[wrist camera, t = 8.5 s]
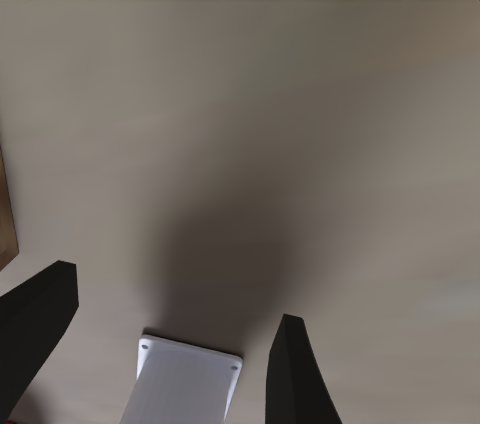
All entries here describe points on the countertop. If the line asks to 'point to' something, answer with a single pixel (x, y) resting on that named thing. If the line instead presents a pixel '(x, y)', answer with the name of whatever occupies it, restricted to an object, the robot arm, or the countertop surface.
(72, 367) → the countertop surface
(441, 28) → the countertop surface
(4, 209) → the holder
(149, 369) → the robot arm
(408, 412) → the countertop surface
